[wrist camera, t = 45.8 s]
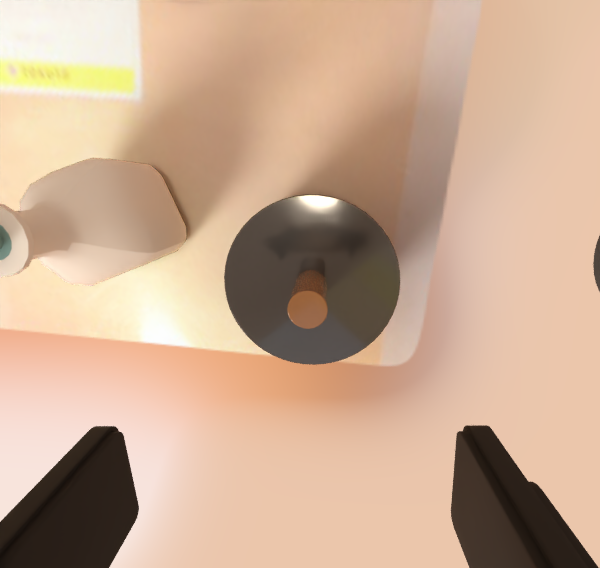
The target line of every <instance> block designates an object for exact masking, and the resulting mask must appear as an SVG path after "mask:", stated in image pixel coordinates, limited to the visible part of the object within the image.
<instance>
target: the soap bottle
mask: <svg viewBox="0 0 600 568" xmlns="http://www.w3.org/2000/svg"><path fill="white" fill-rule="evenodd" d="M185 241H186V226H185V224H184V222H183V220H182V218H181V215H180V213H179V211H178V209H177V207H176V205H175V203H174V200H173V198H172V196H171V194H170V192H169V190H168V188H167V185H166V183H165V181H164V179H163V177H162V175H161V174H159V173H158V172H157V171H156V170H155V169H154V168H153V167H152V166H151V165H149V164H142V163H135V162H128V161H121V160H113V159H102V158H90V159H86V160H83V161H80V162H77V163H75V164H72V165H70V166H67V167H64V168H62V169H59V170H56V171H54V172H51V173H49V174H47V175H46V176H44V177H42V178H41V179H39V180H37V181H36V182H34V183H32V184H31V185H29V187H28V189H27V190H26V192H25V194H24V195H23V197H22V198H21V200H20V211H14V210H12V209H10V208H9V207H7V206H6V205H3V204H0V277H6V276H12V275H16V274H19V273H20V272H22V271H23V270H24V269H26V268H27V267H28V266H29V264H30V262H31V260H32V259H36V258H38V259H39V260H40V262H41V263H42V265H43V266H45V267H47V268H48V269H50V270H51V271H52V272H54V273H55V274H56V275H57V276H59V277H60V278H61V279H63V280H64V281H65V282H67V283H69V284H72V285H88V286H93V285H95V284H98V283H100V282H103V281H105V280H108V279H110V278H113V277H115V276H118V275H120V274H123V273H125V272H127V271H130V270H132V269H135V268H137V267H140V266H142V265H145V264H147V263H150V262H152V261H154V260H157V259H159V258H161V257H164V256H166V255H168V254H171V253H173V252H176V251H177V250H178V249H179V248H180V247H181V246H182V245H183V243H184V242H185Z"/></svg>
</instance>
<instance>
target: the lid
mask: <svg viewBox="0 0 600 568" xmlns="http://www.w3.org/2000/svg"><path fill="white" fill-rule="evenodd" d="M224 279H225V291H226V297H227V301H228V304H229V307H230V310H231V312H232V314H233V316H234V318H235V320H236V322H237V323H238V325H239V326H240V328H241V329H242V330H243V332H244V333H245V334H246V335H247V336H248V337H249V338H250V339H251V340H252V341H253V342H254V343H255V344H256V345H258V346H259V347H260V348H262V349H263V350H265V351H266V352H268V353H270V354H272V355H274V356H276V357H278V358H281V359H283V360H287V361H290V362H294V363H300V364H326V363H331V362H336V361H339V360H342V359H345V358H348V357H350V356H352V355H354V354H356V353H358V352H359V351H361V350H363V349H364V348H366V347H367V346H368V345H369V344H370V343H372V342H373V341H374V340H375V339H376V338H377V337H378V336H379V335H380V334H381V332H382V331H383V330H384V328H385V327H386V325H387V324H388V322H389V320H390V319H391V317H392V315H393V312H394V310H395V307H396V304H397V300H398V296H399V289H400V270H399V265H398V259H397V256H396V253H395V251H394V248H393V246H392V244H391V242H390V240H389V238H388V236H387V235H386V234H385V232H384V231H383V229H382V228H381V227H380V226H379V225H378V223H377V222H376V221H375V220H374V219H373V218H372V217H370V216H369V215H368V214H367V213H366V212H364V211H363V210H361V209H359V208H358V207H356V206H355V205H353V204H350V203H348V202H346V201H344V200H341V199H338V198H334V197H330V196H324V195H300V196H293V197H290V198H286V199H282V200H280V201H277V202H275V203H273V204H271V205H269V206H267V207H265V208H264V209H262V210H261V211H259V212H258V213H257V214H255V215H254V216H253V217H252V218H251V219H250V220H249V221H248V222H247V223H246V224H245V225H244V226H243V227H242V229H241V230H240V232H239V233H238V234H237V236H236V238H235V240H234V242H233V243H232V245H231V248H230V251H229V253H228V257H227V261H226V265H225V276H224Z"/></svg>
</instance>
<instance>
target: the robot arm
mask: <svg viewBox="0 0 600 568" xmlns="http://www.w3.org/2000/svg"><path fill="white" fill-rule="evenodd" d="M138 510H139V506H138V501H137V496H136V492H135V487H134V482H133V477H132V473H131V468H130V463H129V459H128V454H127V450H126V445H125V440H124V436H123V434H122V433H121V432H119V431H118V429H117V428H116V427H114V426H113V427H112V426H102V427H101V426H96V427H93V428H91V429H90V430H89V431H88V432H87V433H86V434H85V435H84V436H83V437H82V438H81V439H80V441H78V443H77V444H76V445H75V446H74V447H73V448H72V449H71V450H70V451H69V452H68V453H67V454H66V455H65V456H64V457H63V458H62V459H61V460H60V461H59V462H58V463H57V464H56V465H55V466H54V467H53V468H52V469H51V470H50V471H49V472H48V473H47V474H46V475H45V476H44V478H42V480H41V481H40V482H39V483H38V484H37V485H36V486H35V487H34V488H33V489H32V490H31V491H30V492H29V493H28V494H27V495H26V496H25V497H24V498H23V499H22V500H21V501H20V502H19V503H18V504H17V505H16V506H15V507H14V508H13V509H12V510H11V511H10V512H9V513H8V515H7V516H6V517H5V518H4V519H3V520H2V521H1V522H0V568H109V567H110V565H111V563H112V561H113V560H114V558H115V556H116V554H117V553H118V551H119V549H120V547H121V546H122V544H123V542H124V540H125V539H126V537H127V535H128V533H129V531H130V530H131V528H132V526H133V524H134V523H135V521H136V518H137V515H138ZM451 517H452V522H453V525H454V529H455V531H456V534H457V537H458V539H459V542H460V544H461V547H462V549H463V552H464V555H465V557H466V560H467V562H468V565H469V568H598V566H597V565H596V564H595V562H594V561H593V560H592V558H591V557H590V555H589V554H588V553H587V551H586V550H585V548H584V547H583V546H582V544H581V543H580V542H579V540H578V539H577V538H576V536H575V535H574V533H573V532H572V531H571V529H570V528H569V526H568V525H567V524H566V522H565V521H564V520H563V519H562V517H561V515H560V514H559V513H558V511H557V510H556V509H555V507H554V506H553V504H552V503H551V502H550V500H549V499H548V498H547V496H546V495H545V494H544V492H543V491H542V489H540V487H539V486H538V485H537V484H535V483H534V482H528V481H527V479H526V478H525V476H524V475H523V474H522V472H521V471H520V469H519V468H518V467H517V465H516V464H515V462H514V461H513V459H512V458H511V456H510V455H509V454H508V452H507V451H506V449H505V448H504V446H503V445H502V444H501V442H500V441H499V439H498V438H497V436H496V435H495V434H494V432H493V431H492V429H491V428H490V427H489V426H465V427H464V429H463V431H459V432H458V433H457V438H456V451H455V464H454V478H453V491H452V504H451Z"/></svg>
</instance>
